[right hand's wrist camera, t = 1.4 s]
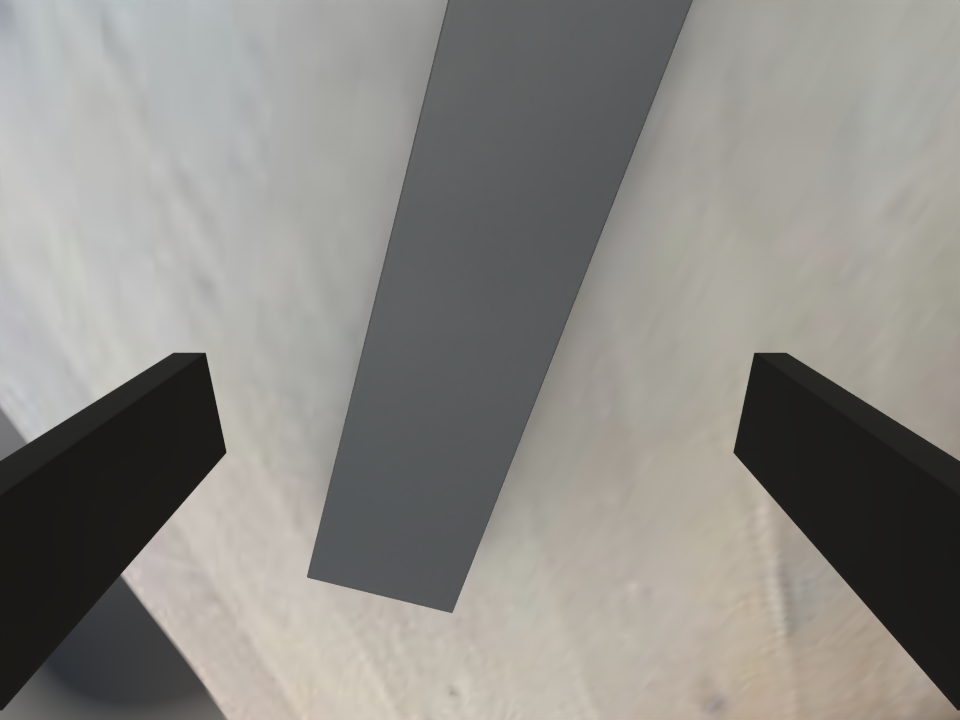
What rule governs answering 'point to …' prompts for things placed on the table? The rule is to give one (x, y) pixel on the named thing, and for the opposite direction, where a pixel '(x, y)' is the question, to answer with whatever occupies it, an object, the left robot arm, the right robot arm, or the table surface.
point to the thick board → (483, 276)
